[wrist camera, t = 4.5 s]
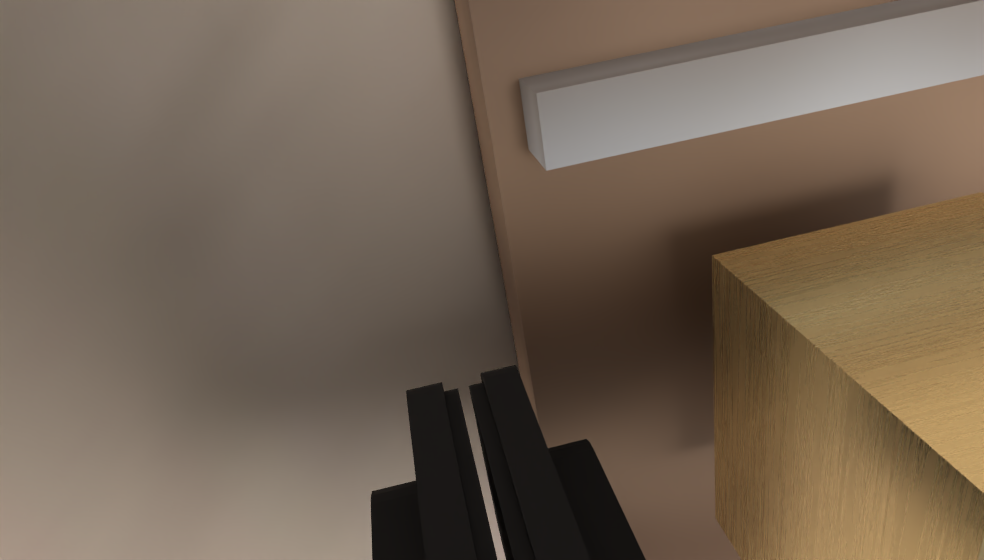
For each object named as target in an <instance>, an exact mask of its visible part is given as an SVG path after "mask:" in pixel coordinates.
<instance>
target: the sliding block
mask: <svg viewBox="0 0 984 560" xmlns="http://www.w3.org/2000/svg"><path fill="white" fill-rule="evenodd" d="M712 294H713V375H714V456H715V518H716V520H717V522H718V523H719V525H720V526H721V528H722V530H723V531H724V533H725V534H726V536H727V537H728V539H729V541H730V542H731V544H732V545H733V547H734V549H735V550H736V552H737V553H738V555H739V557H740V558H741V560H984V193H982V192H979V193H975V194H971V195H967V196H962V197H958V198H954V199H950V200H945V201H941V202H937V203H933V204H928V205H924V206H920V207H916V208H911V209H907V210H903V211H899V212H894V213H890V214H886V215H882V216H877V217H873V218H869V219H865V220H860V221H856V222H852V223H848V224H843V225H839V226H835V227H831V228H826V229H822V230H818V231H814V232H809V233H805V234H801V235H797V236H792V237H788V238H784V239H780V240H775V241H771V242H767V243H763V244H758V245H754V246H750V247H746V248H741V249H737V250H733V251H729V252H724V253H720V254H716V255H712Z"/></svg>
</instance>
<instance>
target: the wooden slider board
mask: <svg viewBox="0 0 984 560" xmlns="http://www.w3.org/2000/svg"><path fill="white" fill-rule="evenodd" d="M454 1H455V6H456V12H457V18H458V23H459V29H460V35H461V41H462V46H463V52H464V58H465V63H466V69H467V75H468V81H469V86H470V92H471V98H472V103H473V109H474V115H475V121H476V126H477V132H478V138H479V143H480V149H481V155H482V161H483V166H484V172H485V178H486V183H487V189H488V195H489V201H490V206H491V212H492V218H493V223H494V229H495V235H496V241H497V246H498V252H499V258H500V263H501V269H502V275H503V281H504V286H505V292H506V298H507V303H508V309H509V315H510V320H511V326H512V332H513V338H514V343H515V349H516V355H517V360H518V366H519V372H520V377H521V379H522V382H523V384H524V387H525V390H526V392H527V395H528V397H529V400H530V403H531V405H532V408H533V411H534V413H535V416H536V418H537V421H538V424H539V426H540V429H541V431H542V434H543V437H544V439H545V442H546V445H547V447H548V448H551V447H555V446H559V445H563V444H567V443H571V442H575V441H579V440H583V439H587V440H588V441H589V442H590V443H591V445H592V447H593V449H594V451H595V453H596V455H597V457H598V459H599V461H600V464H601V466H602V468H603V470H604V472H605V474H606V476H607V478H608V481H609V483H610V485H611V487H612V489H613V491H614V493H615V495H616V497H617V500H618V502H619V504H620V506H621V508H622V510H623V512H624V514H625V517H626V519H627V521H628V523H629V525H630V527H631V529H632V531H633V533H634V536H635V538H636V540H637V542H638V544H639V546H640V548H641V550H642V553H643V555H644V557H645V559H646V560H741V558H740V557H739V555H738V553H737V552H736V550H735V549H734V547H733V545H732V544H731V542H730V541H729V539H728V537H727V536H726V534H725V533H724V531H723V530H722V528H721V526H720V525H719V523H718V522H717V520H716V518H715V456H714V375H713V294H712V255H716V254H720V253H724V252H729V251H733V250H737V249H741V248H746V247H750V246H754V245H758V244H763V243H767V242H771V241H775V240H780V239H784V238H788V237H792V236H797V235H801V234H805V233H809V232H814V231H818V230H822V229H826V228H831V227H835V226H839V225H843V224H848V223H852V222H856V221H860V220H865V219H869V218H873V217H877V216H882V215H886V214H890V213H894V212H899V211H903V210H907V209H911V208H916V207H920V206H924V205H928V204H933V203H937V202H941V201H945V200H950V199H954V198H958V197H962V196H967V195H971V194H975V193H979V192H982V193H984V0H454Z"/></svg>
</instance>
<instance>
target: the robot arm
mask: <svg viewBox="0 0 984 560" xmlns="http://www.w3.org/2000/svg"><path fill="white" fill-rule="evenodd" d="M481 379H482V383H479V384H475V385H471V386H469V389H470V394H471V399H472V403H473V408H474V413H475V418H476V423H477V427H478V432H479V437H480V442H481V447H482V451H483V456H484V461H485V466H486V471H487V475H488V480H489V485H490V490H491V495H492V500H493V504H494V509H495V514H496V519H497V523H498V527H499V532H500V536H501V540H502V544H503V548H504V552H505V556H506V560H646V559H645V557H644V555H643V553H642V550H641V548H640V546H639V544H638V542H637V540H636V538H635V536H634V533H633V531H632V529H631V527H630V525H629V523H628V521H627V519H626V517H625V514H624V512H623V510H622V508H621V506H620V504H619V502H618V500H617V497H616V495H615V493H614V491H613V489H612V487H611V485H610V483H609V481H608V478H607V476H606V474H605V472H604V470H603V468H602V466H601V464H600V461H599V459H598V457H597V455H596V453H595V451H594V449H593V447H592V445H591V443H590V442H589V441H588V440H587V439H583V440H579V441H575V442H571V443H567V444H563V445H559V446H555V447H551V448H548V447H547V445H546V442H545V439H544V437H543V434H542V431H541V429H540V426H539V424H538V421H537V418H536V416H535V413H534V411H533V408H532V405H531V403H530V400H529V397H528V395H527V392H526V390H525V387H524V384H523V382H522V379H521V377H520V374H519V371H518V369H517V367H516V365H514V366H510V367H505V368H501V369H497V370H492V371H488V372H484V373H481ZM406 395H407V404H408V413H409V422H410V430H411V439H412V448H413V457H414V465H415V474H416V481H412V482H408V483H404V484H400V485H396V486H392V487H388V488H384V489H380V490H376V491H372V494H371V524H372V559H373V560H497V556H496V552H495V548H494V543H493V539H492V535H491V530H490V526H489V522H488V517H487V513H486V509H485V504H484V500H483V496H482V491H481V487H480V483H479V478H478V474H477V470H476V465H475V461H474V457H473V452H472V448H471V444H470V439H469V435H468V431H467V426H466V422H465V418H464V413H463V409H462V405H461V400H460V396H459V392H458V389H454V390H449V391H445V392H444V389H443V385H442V382H441V383H437V384H432V385H428V386H424V387H420V388H415V389H411V390H407V391H406Z"/></svg>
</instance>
